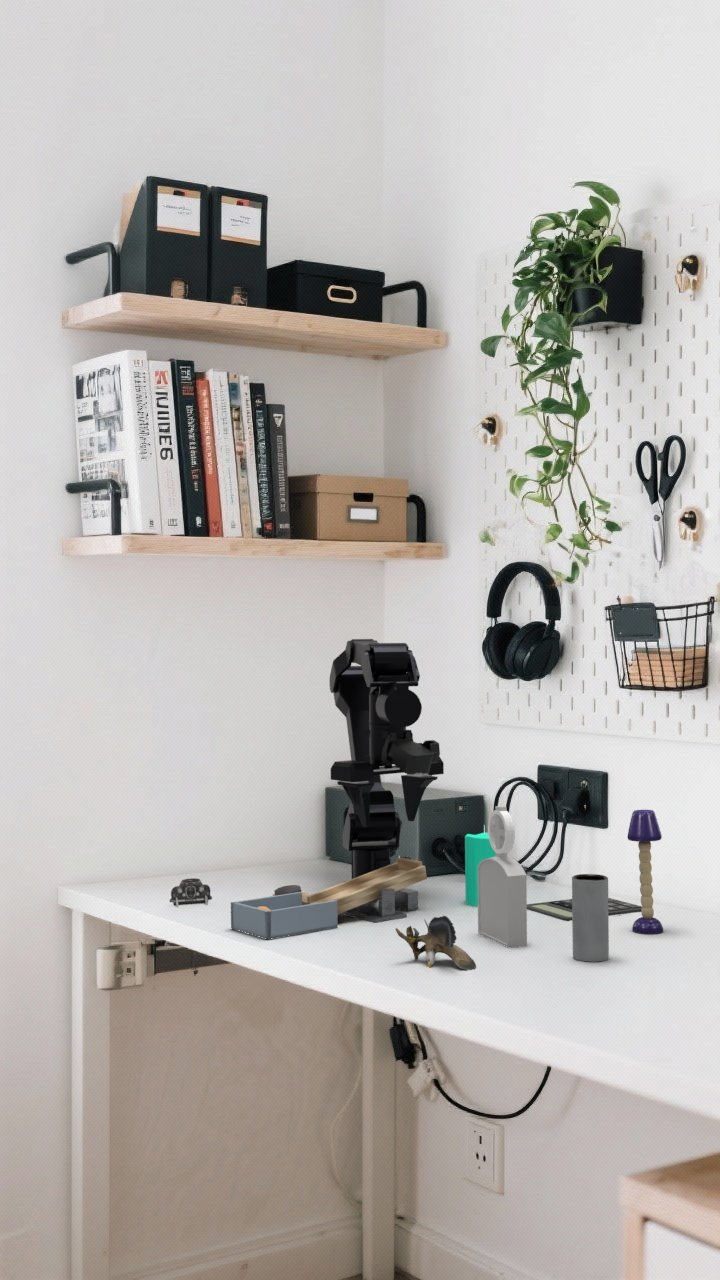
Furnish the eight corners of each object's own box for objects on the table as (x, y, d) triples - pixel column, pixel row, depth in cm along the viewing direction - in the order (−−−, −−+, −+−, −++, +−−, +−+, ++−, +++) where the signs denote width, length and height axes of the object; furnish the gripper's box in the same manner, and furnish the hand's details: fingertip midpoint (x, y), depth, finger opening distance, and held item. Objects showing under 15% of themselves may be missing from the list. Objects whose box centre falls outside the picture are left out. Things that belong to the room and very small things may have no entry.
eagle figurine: (389, 959, 170) (451, 954, 165) (398, 905, 174) (459, 899, 169) (421, 982, 175) (482, 978, 170) (429, 929, 179) (489, 924, 174)
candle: (504, 899, 214) (503, 822, 214) (504, 907, 208) (504, 827, 208) (465, 899, 215) (465, 822, 215) (465, 906, 209) (464, 827, 209)
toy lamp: (625, 932, 189) (624, 811, 189) (631, 926, 194) (630, 807, 194) (661, 935, 188) (660, 813, 188) (665, 928, 192) (664, 809, 192)
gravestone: (508, 947, 181) (507, 811, 181) (478, 933, 190) (477, 803, 190) (526, 945, 182) (525, 810, 182) (496, 931, 191) (495, 802, 191)
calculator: (648, 906, 205) (565, 917, 198) (648, 913, 205) (565, 923, 198) (600, 894, 215) (520, 903, 208) (600, 900, 215) (520, 910, 208)
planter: (600, 963, 172) (599, 881, 172) (567, 959, 174) (566, 878, 174) (614, 956, 176) (613, 875, 176) (581, 952, 178) (580, 872, 178)
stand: (387, 902, 213) (387, 875, 213) (432, 912, 205) (432, 884, 205) (331, 911, 206) (330, 883, 206) (375, 922, 198) (374, 893, 198)
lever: (364, 866, 219) (362, 850, 218) (427, 878, 207) (424, 862, 207) (270, 901, 207) (268, 885, 207) (331, 916, 196) (328, 899, 195)
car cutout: (173, 913, 209) (172, 883, 208) (165, 905, 215) (164, 876, 215) (269, 906, 213) (268, 877, 213) (258, 898, 220) (258, 870, 220)
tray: (231, 929, 194) (230, 902, 194) (299, 917, 201) (299, 892, 201) (267, 939, 187) (267, 912, 187) (337, 927, 194) (337, 900, 194)
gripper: (374, 728, 202) (374, 835, 202) (467, 722, 213) (468, 823, 213) (328, 725, 211) (328, 827, 211) (419, 720, 222) (420, 816, 222)
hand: (388, 823), depth 214 cm, fingers open, 9 cm apart
